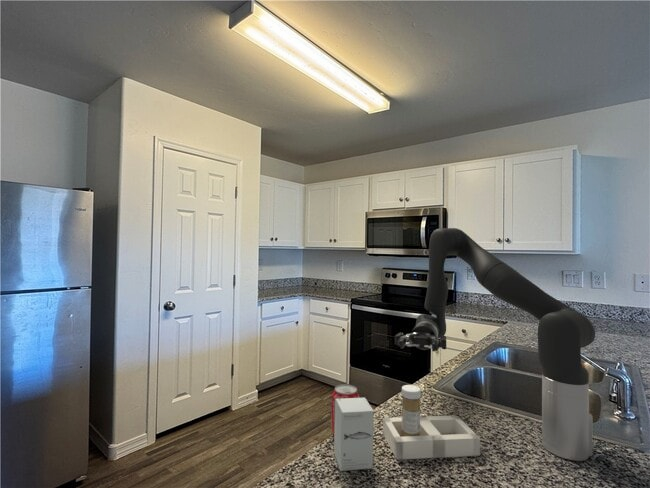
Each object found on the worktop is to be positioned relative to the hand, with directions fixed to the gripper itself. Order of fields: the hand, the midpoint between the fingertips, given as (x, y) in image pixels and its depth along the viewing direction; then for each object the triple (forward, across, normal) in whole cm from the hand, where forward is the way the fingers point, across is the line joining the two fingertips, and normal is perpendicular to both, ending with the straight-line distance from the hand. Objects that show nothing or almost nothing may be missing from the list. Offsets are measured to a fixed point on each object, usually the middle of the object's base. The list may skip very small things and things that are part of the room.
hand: (417, 346), depth 92 cm
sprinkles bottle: (+9, -1, +22) cm, 23 cm away
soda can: (+13, -16, +22) cm, 30 cm away
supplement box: (+21, -11, +22) cm, 33 cm away
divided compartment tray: (+7, +3, +22) cm, 23 cm away
